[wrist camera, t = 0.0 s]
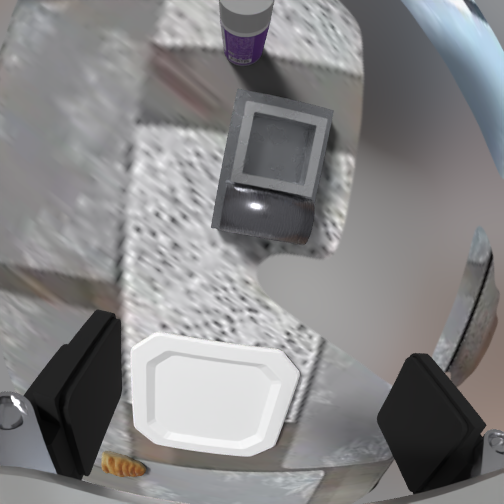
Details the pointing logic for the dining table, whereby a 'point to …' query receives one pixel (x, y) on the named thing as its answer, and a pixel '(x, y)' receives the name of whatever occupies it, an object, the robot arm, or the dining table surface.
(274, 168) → the block
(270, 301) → the dining table surface
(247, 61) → the container
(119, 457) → the pastry
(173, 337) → the plate
